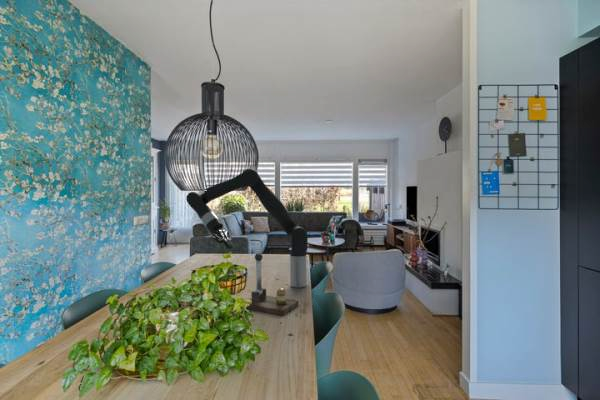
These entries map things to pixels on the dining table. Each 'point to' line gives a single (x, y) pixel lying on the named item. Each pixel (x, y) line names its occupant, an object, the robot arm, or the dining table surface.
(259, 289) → the lever
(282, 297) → the tan rounded cylinder
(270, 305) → the press base
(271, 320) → the dining table surface
